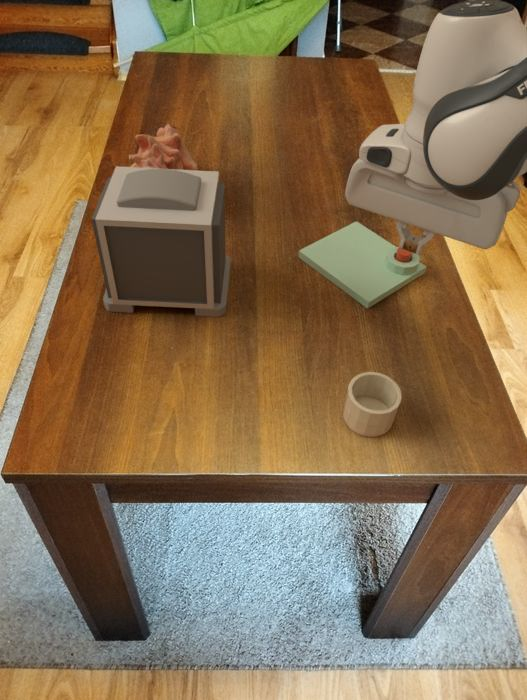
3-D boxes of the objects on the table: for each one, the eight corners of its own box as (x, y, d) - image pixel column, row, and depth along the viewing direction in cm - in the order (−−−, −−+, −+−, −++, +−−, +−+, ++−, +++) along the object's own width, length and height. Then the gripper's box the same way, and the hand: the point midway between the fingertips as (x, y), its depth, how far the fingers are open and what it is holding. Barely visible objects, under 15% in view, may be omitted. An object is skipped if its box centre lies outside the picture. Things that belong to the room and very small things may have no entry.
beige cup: (403, 419, 74) (412, 395, 71) (369, 445, 71) (376, 422, 68) (366, 387, 78) (373, 363, 74) (332, 412, 75) (337, 388, 71)
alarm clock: (231, 261, 95) (230, 160, 81) (225, 317, 86) (224, 213, 72) (120, 256, 95) (101, 153, 81) (103, 311, 86) (78, 206, 72)
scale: (424, 273, 95) (429, 259, 93) (367, 308, 88) (370, 294, 86) (355, 227, 103) (357, 213, 101) (297, 257, 96) (299, 242, 94)
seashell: (225, 209, 99) (161, 155, 88) (170, 250, 105) (105, 204, 94) (215, 135, 111) (158, 80, 101) (167, 175, 117) (109, 127, 107)
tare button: (413, 259, 93) (415, 251, 92) (403, 265, 92) (405, 257, 91) (401, 252, 94) (404, 244, 93) (392, 257, 93) (394, 250, 92)
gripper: (531, 168, 66) (492, 262, 76) (368, 122, 73) (352, 215, 83) (519, 193, 62) (479, 289, 72) (347, 143, 69) (333, 237, 79)
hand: (410, 249), depth 78 cm, fingers closed
